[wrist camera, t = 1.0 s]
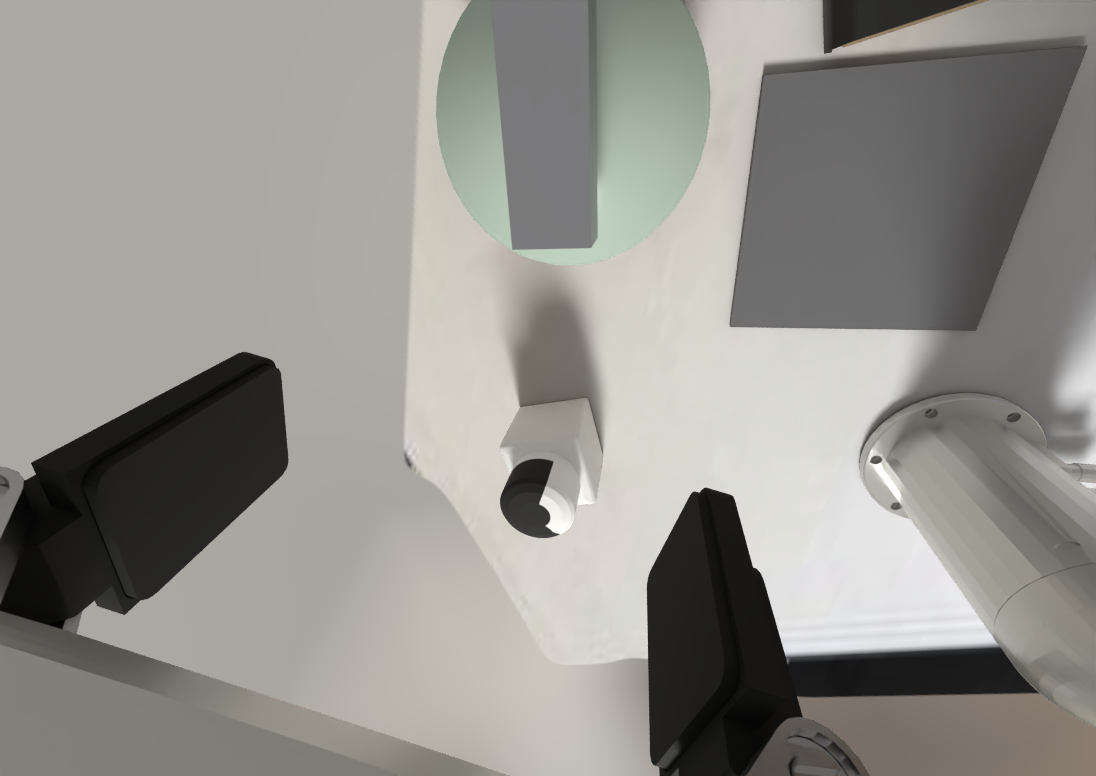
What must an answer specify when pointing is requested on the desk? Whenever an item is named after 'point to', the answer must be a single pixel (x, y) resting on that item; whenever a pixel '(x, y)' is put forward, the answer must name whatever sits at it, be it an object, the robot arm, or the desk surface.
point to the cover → (572, 121)
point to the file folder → (878, 17)
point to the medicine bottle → (550, 466)
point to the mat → (893, 188)
